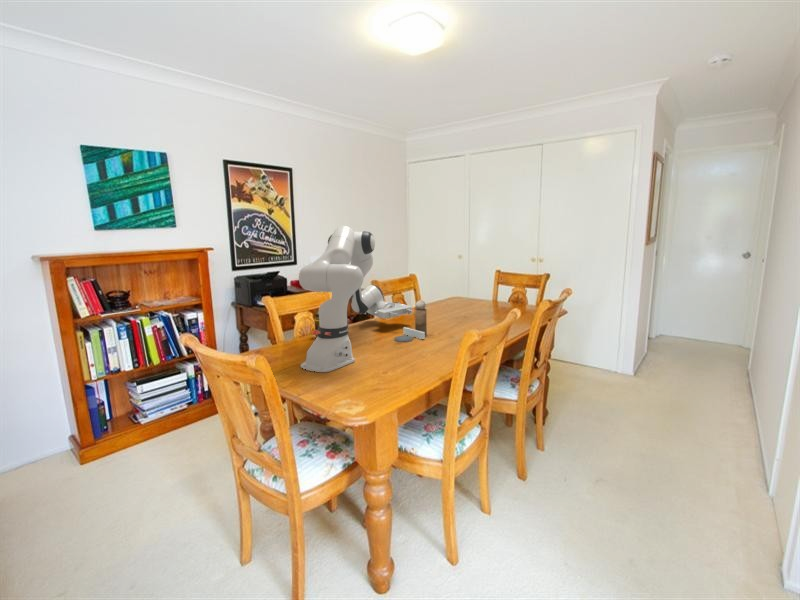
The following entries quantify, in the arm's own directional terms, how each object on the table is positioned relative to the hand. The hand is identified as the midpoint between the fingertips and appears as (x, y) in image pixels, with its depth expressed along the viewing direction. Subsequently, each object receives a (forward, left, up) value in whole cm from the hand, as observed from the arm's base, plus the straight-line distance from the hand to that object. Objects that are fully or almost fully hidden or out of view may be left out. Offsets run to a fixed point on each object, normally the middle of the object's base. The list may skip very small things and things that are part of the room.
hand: (404, 313), depth 203 cm
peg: (-4, -11, -9) cm, 15 cm away
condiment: (-26, +32, -9) cm, 43 cm away
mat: (-15, -6, -9) cm, 18 cm away
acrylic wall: (-9, -9, -9) cm, 15 cm away
